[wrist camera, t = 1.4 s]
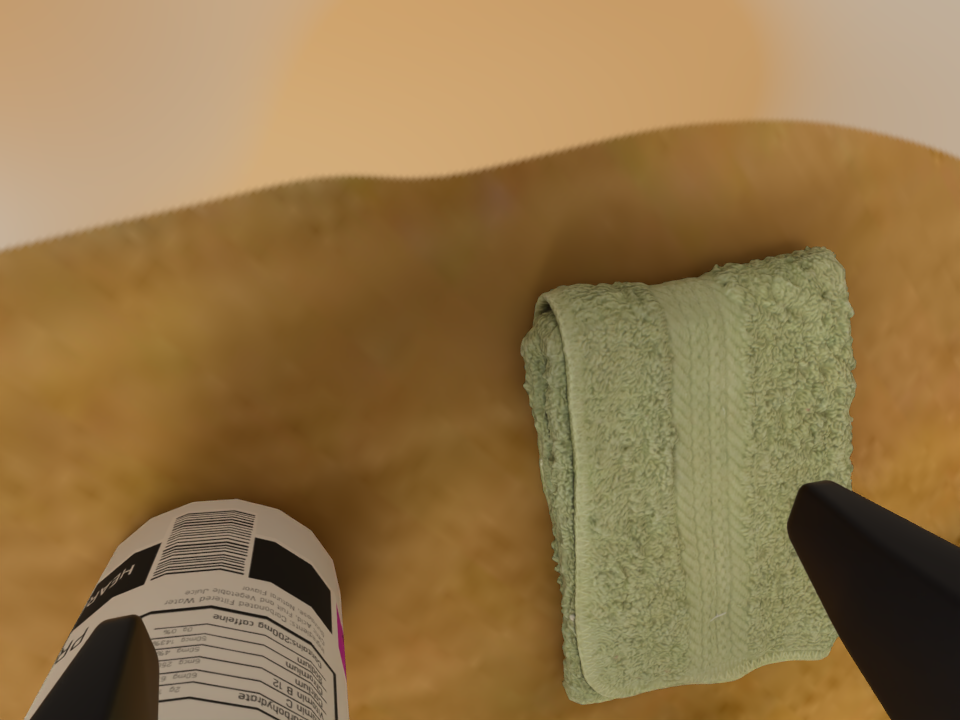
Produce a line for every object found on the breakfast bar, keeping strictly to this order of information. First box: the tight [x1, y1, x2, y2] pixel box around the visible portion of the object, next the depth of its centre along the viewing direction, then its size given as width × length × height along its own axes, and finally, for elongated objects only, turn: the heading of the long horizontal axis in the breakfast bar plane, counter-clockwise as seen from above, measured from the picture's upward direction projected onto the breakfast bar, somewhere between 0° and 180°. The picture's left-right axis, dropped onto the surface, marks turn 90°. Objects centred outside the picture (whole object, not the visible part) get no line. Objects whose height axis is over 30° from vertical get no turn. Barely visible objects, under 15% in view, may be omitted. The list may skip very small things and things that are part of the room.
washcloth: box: [520, 246, 856, 705], centre depth 27 cm, size 13×18×3 cm
